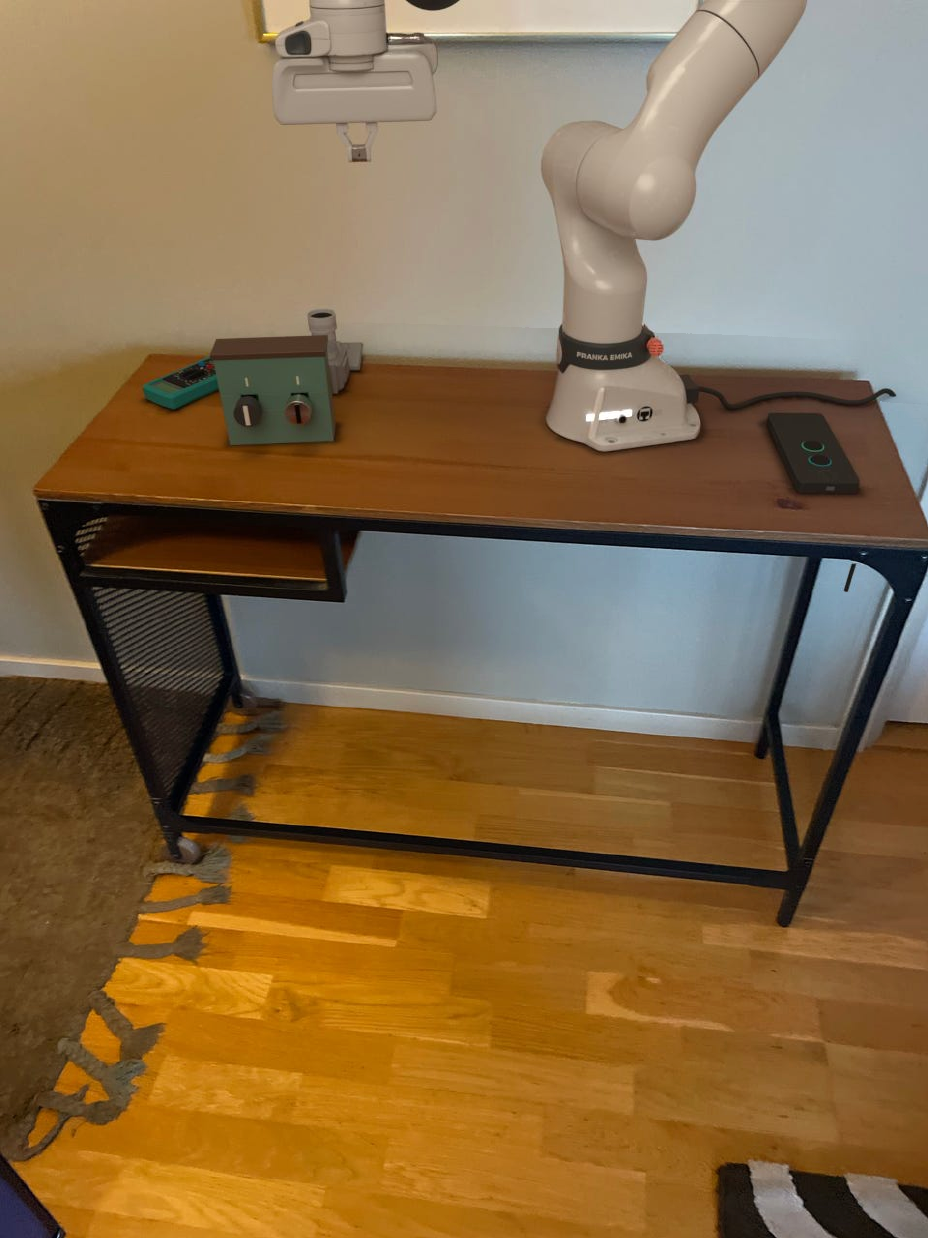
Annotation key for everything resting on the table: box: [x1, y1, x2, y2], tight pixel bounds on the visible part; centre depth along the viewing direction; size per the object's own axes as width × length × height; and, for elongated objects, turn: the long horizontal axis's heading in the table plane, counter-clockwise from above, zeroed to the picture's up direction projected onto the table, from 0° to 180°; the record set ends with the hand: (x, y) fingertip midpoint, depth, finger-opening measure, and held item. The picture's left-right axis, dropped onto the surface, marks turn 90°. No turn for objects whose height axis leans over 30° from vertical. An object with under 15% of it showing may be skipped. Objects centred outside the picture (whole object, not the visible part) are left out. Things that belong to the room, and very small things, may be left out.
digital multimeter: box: [142, 356, 219, 411], centre depth 145 cm, size 7×15×3 cm, turn 143°
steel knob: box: [285, 393, 312, 425], centre depth 127 cm, size 6×4×4 cm, turn 3°
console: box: [209, 335, 337, 446], centre depth 130 cm, size 6×16×14 cm, turn 93°
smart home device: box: [765, 412, 861, 495], centre depth 126 cm, size 8×2×20 cm
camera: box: [306, 308, 364, 395], centre depth 146 cm, size 9×12×15 cm
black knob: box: [233, 395, 262, 427], centre depth 127 cm, size 6×4×4 cm, turn 3°
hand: (360, 160), depth 117 cm, fingers closed
